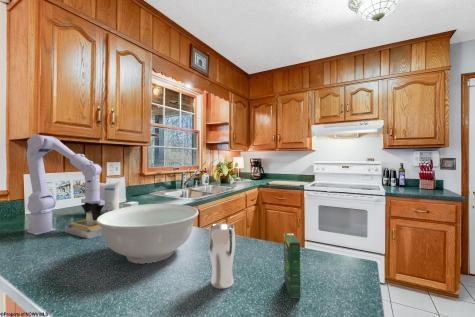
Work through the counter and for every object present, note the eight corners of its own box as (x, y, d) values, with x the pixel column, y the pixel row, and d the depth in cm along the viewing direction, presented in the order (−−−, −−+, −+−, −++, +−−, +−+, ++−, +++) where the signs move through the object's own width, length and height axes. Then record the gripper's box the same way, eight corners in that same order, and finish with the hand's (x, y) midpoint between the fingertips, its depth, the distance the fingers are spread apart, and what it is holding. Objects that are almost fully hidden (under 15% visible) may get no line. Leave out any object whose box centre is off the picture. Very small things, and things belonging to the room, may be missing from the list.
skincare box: (131, 229, 112) (130, 203, 112) (123, 228, 113) (122, 203, 113) (138, 225, 118) (138, 201, 118) (131, 225, 119) (131, 201, 119)
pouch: (112, 217, 135) (112, 182, 135) (88, 214, 142) (88, 181, 142) (124, 214, 142) (123, 180, 142) (100, 212, 149) (100, 180, 149)
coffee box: (283, 280, 64) (283, 232, 64) (294, 280, 64) (293, 232, 64) (288, 298, 56) (288, 242, 56) (301, 298, 56) (300, 242, 56)
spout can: (84, 224, 109) (84, 210, 109) (93, 222, 113) (93, 208, 113) (89, 226, 107) (89, 211, 107) (98, 223, 111) (98, 209, 111)
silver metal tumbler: (209, 276, 67) (209, 223, 67) (234, 275, 67) (234, 222, 67) (208, 290, 60) (208, 230, 60) (236, 289, 60) (236, 229, 60)
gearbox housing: (65, 232, 108) (65, 223, 108) (98, 224, 121) (98, 216, 121) (87, 238, 99) (87, 229, 99) (120, 229, 112) (120, 220, 112)
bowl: (174, 282, 64) (173, 227, 64) (70, 272, 70) (70, 222, 70) (209, 241, 96) (209, 204, 96) (136, 236, 102) (136, 202, 101)
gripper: (74, 190, 110) (74, 219, 110) (93, 192, 104) (93, 223, 104) (89, 188, 117) (89, 216, 117) (108, 190, 110) (109, 219, 110)
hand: (92, 219), depth 111 cm, fingers closed on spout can, 4 cm apart
